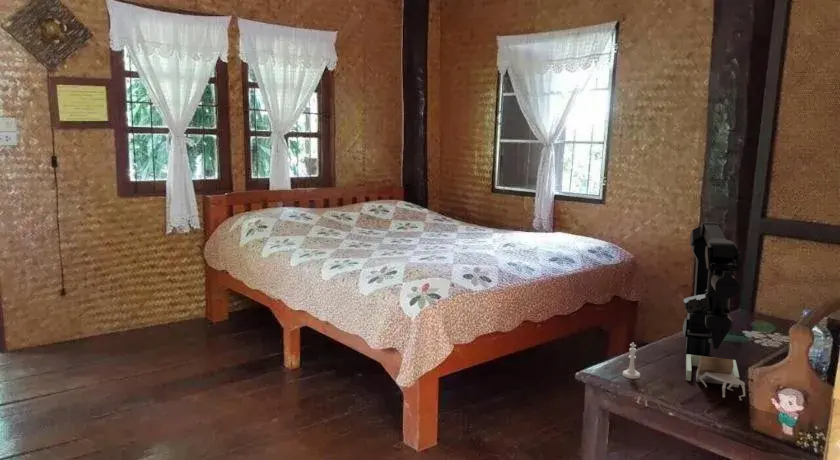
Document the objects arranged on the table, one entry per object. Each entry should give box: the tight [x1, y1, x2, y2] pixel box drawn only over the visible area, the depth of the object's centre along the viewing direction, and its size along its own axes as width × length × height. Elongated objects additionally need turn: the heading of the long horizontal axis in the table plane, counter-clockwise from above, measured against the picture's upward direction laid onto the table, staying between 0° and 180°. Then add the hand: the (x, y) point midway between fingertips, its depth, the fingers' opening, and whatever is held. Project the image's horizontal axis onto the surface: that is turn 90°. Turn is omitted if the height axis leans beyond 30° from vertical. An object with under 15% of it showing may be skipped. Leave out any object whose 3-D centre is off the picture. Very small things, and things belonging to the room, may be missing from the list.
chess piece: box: [622, 342, 641, 380], centre depth 181 cm, size 5×5×10 cm
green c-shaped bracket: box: [685, 354, 740, 388], centre depth 181 cm, size 13×14×3 cm
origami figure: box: [699, 372, 746, 401], centre depth 170 cm, size 12×8×5 cm
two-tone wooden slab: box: [695, 356, 734, 386], centre depth 173 cm, size 8×2×10 cm
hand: (714, 343), depth 171 cm, fingers open, 9 cm apart
